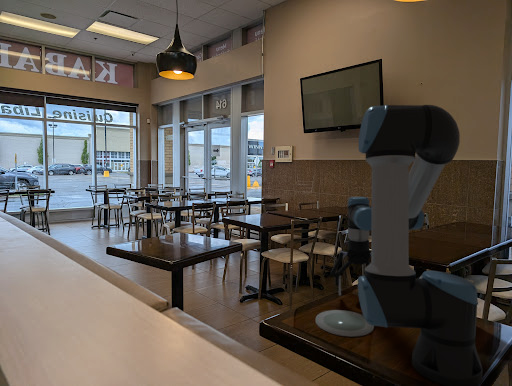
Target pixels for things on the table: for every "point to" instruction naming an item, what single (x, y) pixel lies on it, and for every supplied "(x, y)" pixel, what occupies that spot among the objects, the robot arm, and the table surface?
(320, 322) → the serving plate
